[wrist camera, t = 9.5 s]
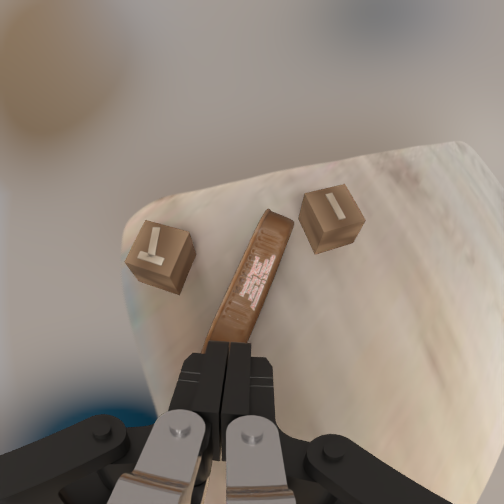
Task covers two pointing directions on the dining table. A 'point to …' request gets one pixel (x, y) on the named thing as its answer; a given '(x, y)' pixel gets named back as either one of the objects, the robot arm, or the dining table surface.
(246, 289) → the tin
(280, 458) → the robot arm
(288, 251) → the dining table surface
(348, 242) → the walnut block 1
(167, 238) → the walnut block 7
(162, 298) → the dining table surface
